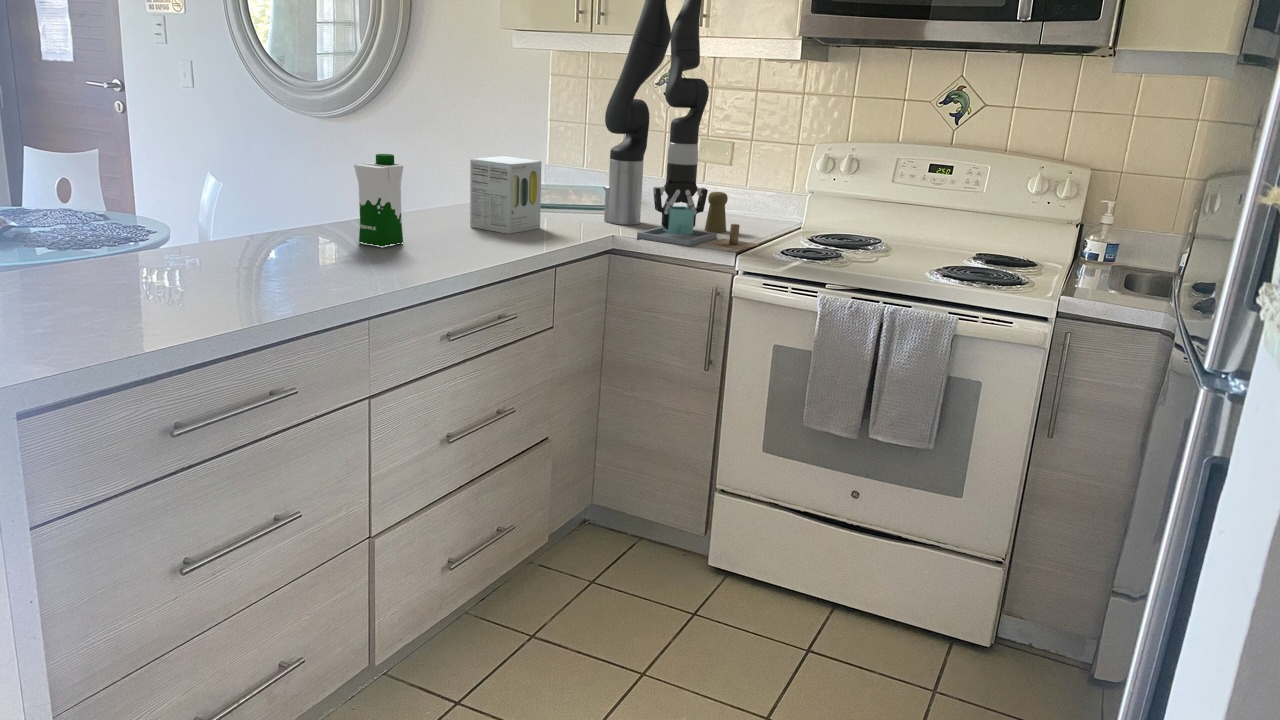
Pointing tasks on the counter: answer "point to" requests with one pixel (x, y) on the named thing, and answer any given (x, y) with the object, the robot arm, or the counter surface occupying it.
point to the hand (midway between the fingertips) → (678, 228)
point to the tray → (676, 237)
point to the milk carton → (380, 201)
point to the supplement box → (505, 194)
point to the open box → (680, 220)
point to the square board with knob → (734, 240)
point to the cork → (716, 213)
